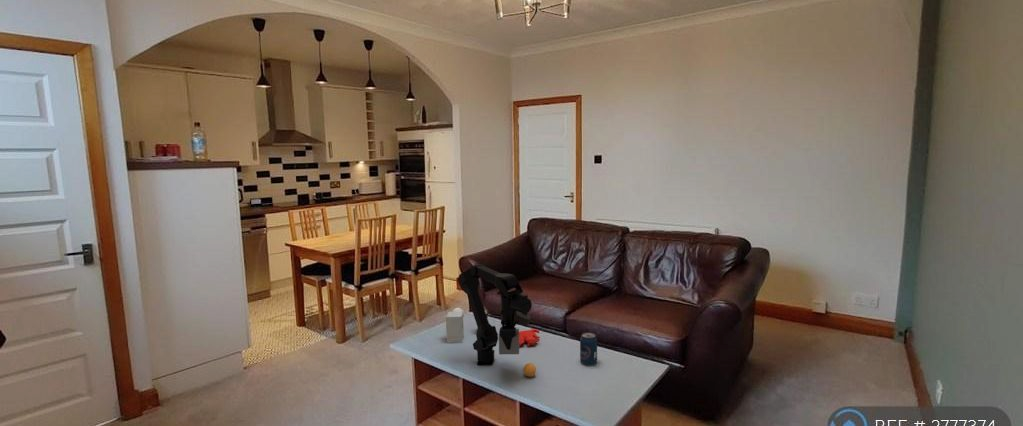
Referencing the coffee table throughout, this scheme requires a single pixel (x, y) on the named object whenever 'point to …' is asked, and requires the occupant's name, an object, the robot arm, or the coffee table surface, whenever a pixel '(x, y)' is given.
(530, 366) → the ball
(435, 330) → the coffee table surface
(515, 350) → the grey cube
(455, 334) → the supplement box
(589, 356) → the soda can
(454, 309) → the lightbulb
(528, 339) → the animal figurine
